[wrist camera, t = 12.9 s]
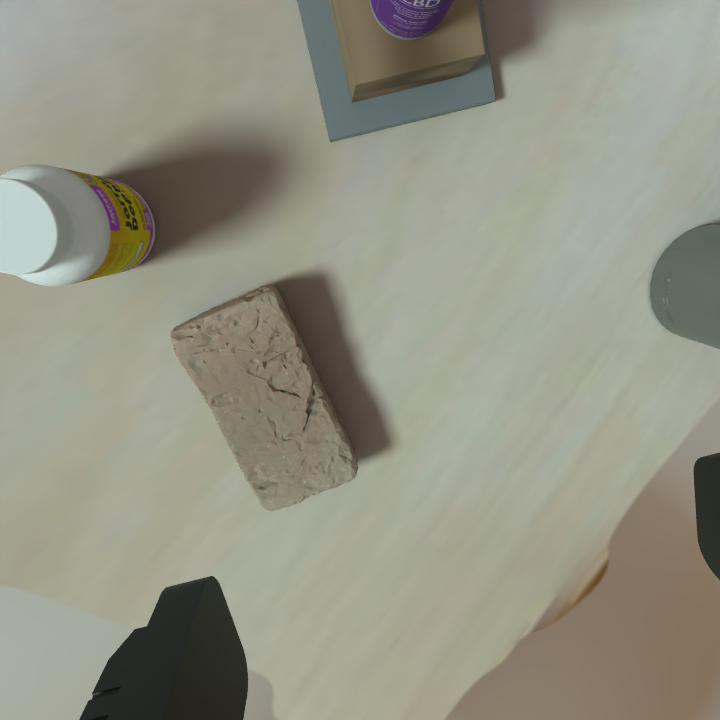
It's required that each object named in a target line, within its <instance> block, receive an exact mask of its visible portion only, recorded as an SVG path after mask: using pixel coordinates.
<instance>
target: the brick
mask: <svg viewBox="0 0 720 720" xmlns="http://www.w3.org/2000/svg"><path fill="white" fill-rule="evenodd" d="M171 340H172V343H173V346H174V350H175V354H176V356H177V357H178V359H179V361H180V362H181V364H182V365H183V367H184V369H185V370H186V372H187V373H188V375H189V376H190V378H191V379H192V380H193V382H194V383H195V385H196V386H197V388H198V389H199V391H200V392H201V394H202V395H203V397H204V399H205V401H206V403H207V404H208V405H209V407H210V408H211V409H212V411H213V414H214V416H215V418H216V421H217V423H218V425H219V428H220V430H221V432H222V434H223V436H224V438H225V440H226V442H227V443H228V445H229V447H230V449H231V451H232V453H233V455H234V457H235V459H236V461H237V463H238V465H239V467H240V469H241V470H242V472H243V474H244V476H245V478H246V479H247V481H248V482H249V485H250V487H251V489H252V491H253V493H254V494H255V495H256V496H257V497H258V499H259V501H260V503H261V505H262V506H263V507H264V508H265V509H267V510H271V511H274V510H277V509H280V508H283V507H289V506H291V505H293V504H298V503H301V502H302V501H303V500H304V499H305V498H308V497H310V496H312V495H316V494H318V493H320V492H322V491H324V490H326V489H331V488H335V487H338V486H339V485H341V484H344V483H346V482H349V481H351V480H352V479H353V478H355V477H356V474H357V469H358V465H357V458H356V456H355V454H354V449H353V447H352V445H351V441H350V439H349V437H348V436H347V434H346V432H345V430H344V428H343V426H342V425H341V423H340V421H339V418H338V416H337V414H336V413H335V410H334V408H333V405H332V402H331V400H330V397H329V396H328V395H327V393H326V392H325V390H324V388H323V386H322V384H321V380H320V377H319V375H318V374H317V372H316V370H315V368H314V365H313V363H312V360H311V358H310V357H309V355H308V352H307V350H306V348H305V345H304V343H303V341H302V340H301V338H300V336H299V334H298V331H297V330H296V327H295V325H294V323H293V320H292V318H291V316H290V314H289V312H288V310H287V308H286V306H285V304H284V302H283V299H282V297H281V295H280V293H279V291H278V290H277V288H276V287H275V286H271V285H269V286H263V287H260V288H259V289H256V290H253V291H251V292H248V293H246V294H244V295H241V296H240V297H239V298H236V299H234V300H232V301H230V302H228V303H224V304H223V305H221V306H218V307H215V308H213V309H210V310H208V311H206V312H204V313H202V314H200V315H198V316H197V317H194V318H192V319H190V320H188V321H186V322H184V323H182V324H181V325H179V326H177V327H175V328H174V329H173V330H172V332H171Z"/></svg>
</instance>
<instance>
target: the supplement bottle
mask: <svg viewBox="0 0 720 720" xmlns="http://www.w3.org/2000/svg"><path fill="white" fill-rule="evenodd" d="M154 239H155V222H154V218H153V215H152V212H151V210H150V208H149V206H148V205H147V203H146V202H145V200H144V199H143V198H142V197H141V195H140V194H139V193H137V192H136V191H135V190H134V189H132V188H131V187H129V186H128V185H126V184H124V183H122V182H119V181H116V180H113V179H109V178H104V177H100V176H95V175H90V174H86V173H81V172H76V171H71V170H67V169H62V168H58V167H53V166H47V165H26V166H21V167H17V168H14V169H12V170H10V171H8V172H6V173H4V174H3V175H1V176H0V272H2V273H7V274H14V275H17V276H18V277H20V278H22V279H24V280H26V281H29V282H32V283H35V284H39V285H45V286H64V285H69V284H74V283H78V282H82V281H86V280H90V279H94V278H99V277H103V276H107V275H112V274H116V273H120V272H124V271H127V270H130V269H132V268H134V267H136V266H137V265H139V264H140V263H141V262H142V261H143V260H144V259H145V258H146V257H147V255H148V254H149V252H150V251H151V248H152V246H153V243H154Z"/></svg>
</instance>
